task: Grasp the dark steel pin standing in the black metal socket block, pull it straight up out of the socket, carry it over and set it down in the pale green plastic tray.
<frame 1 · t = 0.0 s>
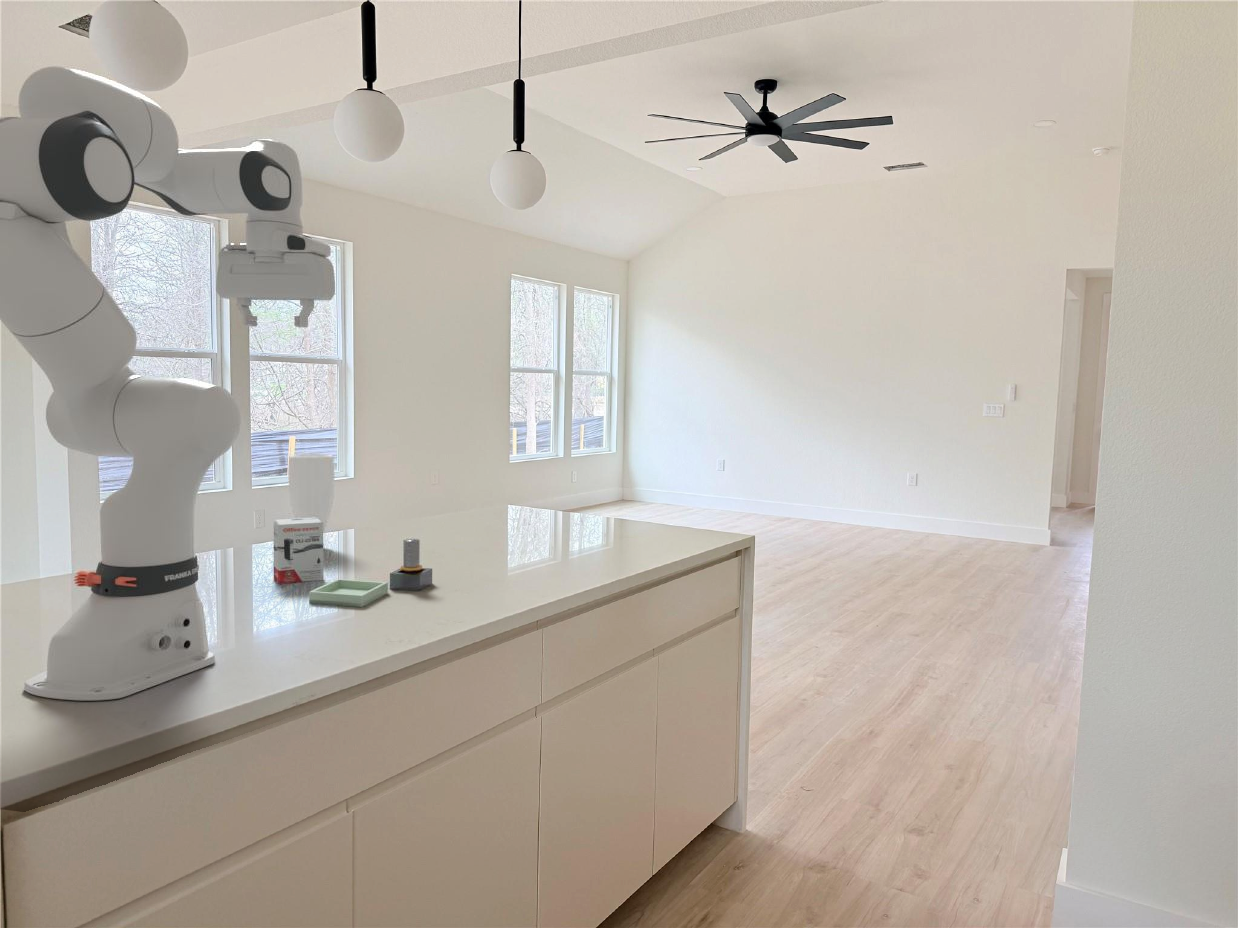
hand: (275, 326, 139), 48 cm above the counter, fingers open, 8 cm apart
tray: (349, 597, 149), on the counter
ink box: (298, 580, 161), on the counter
pin: (411, 563, 158), in the socket block
socket block: (411, 586, 158), on the counter
cup: (312, 548, 192), on the counter
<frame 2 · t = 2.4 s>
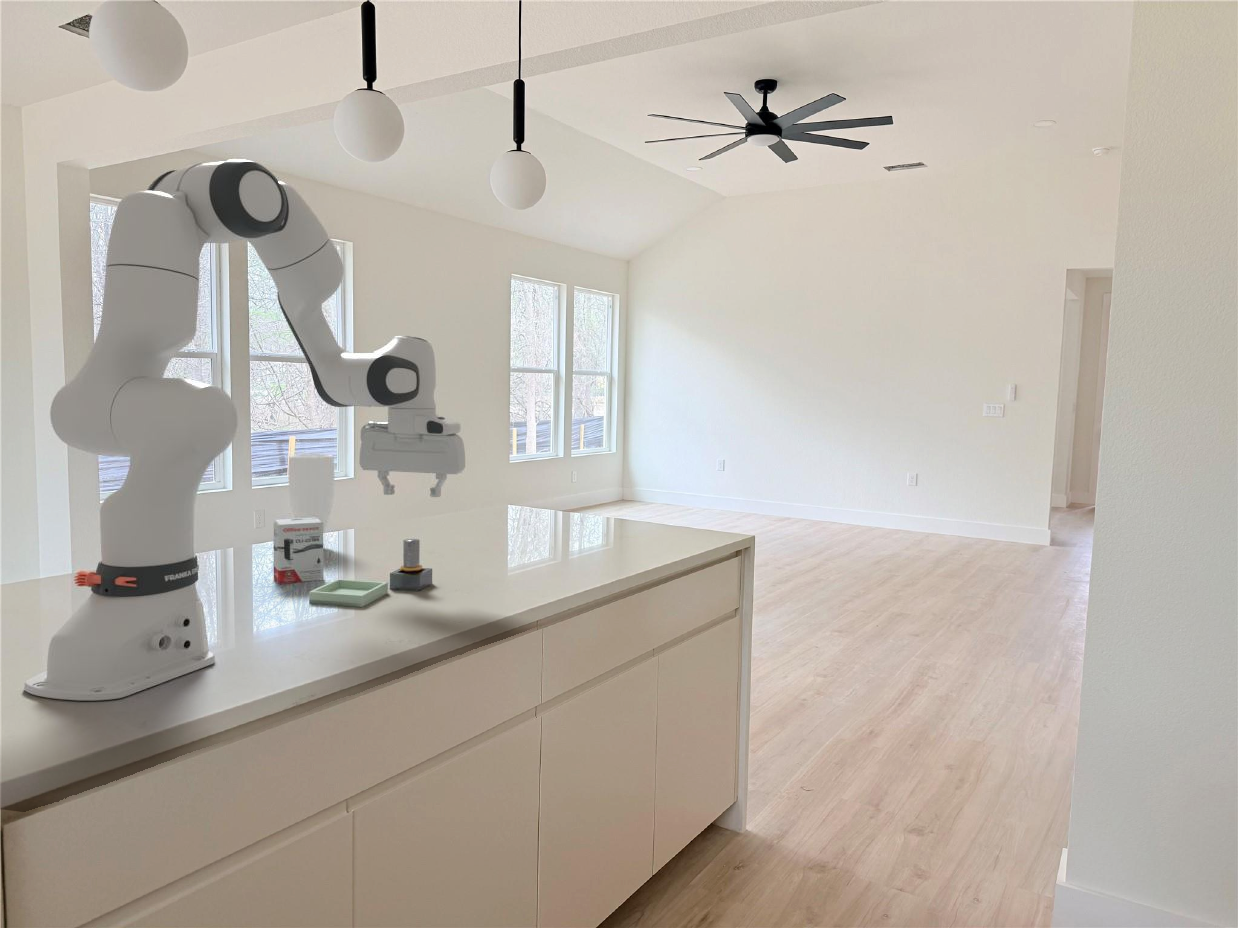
hand: (412, 495, 157), 18 cm above the counter, fingers open, 8 cm apart
nothing on the counter moved.
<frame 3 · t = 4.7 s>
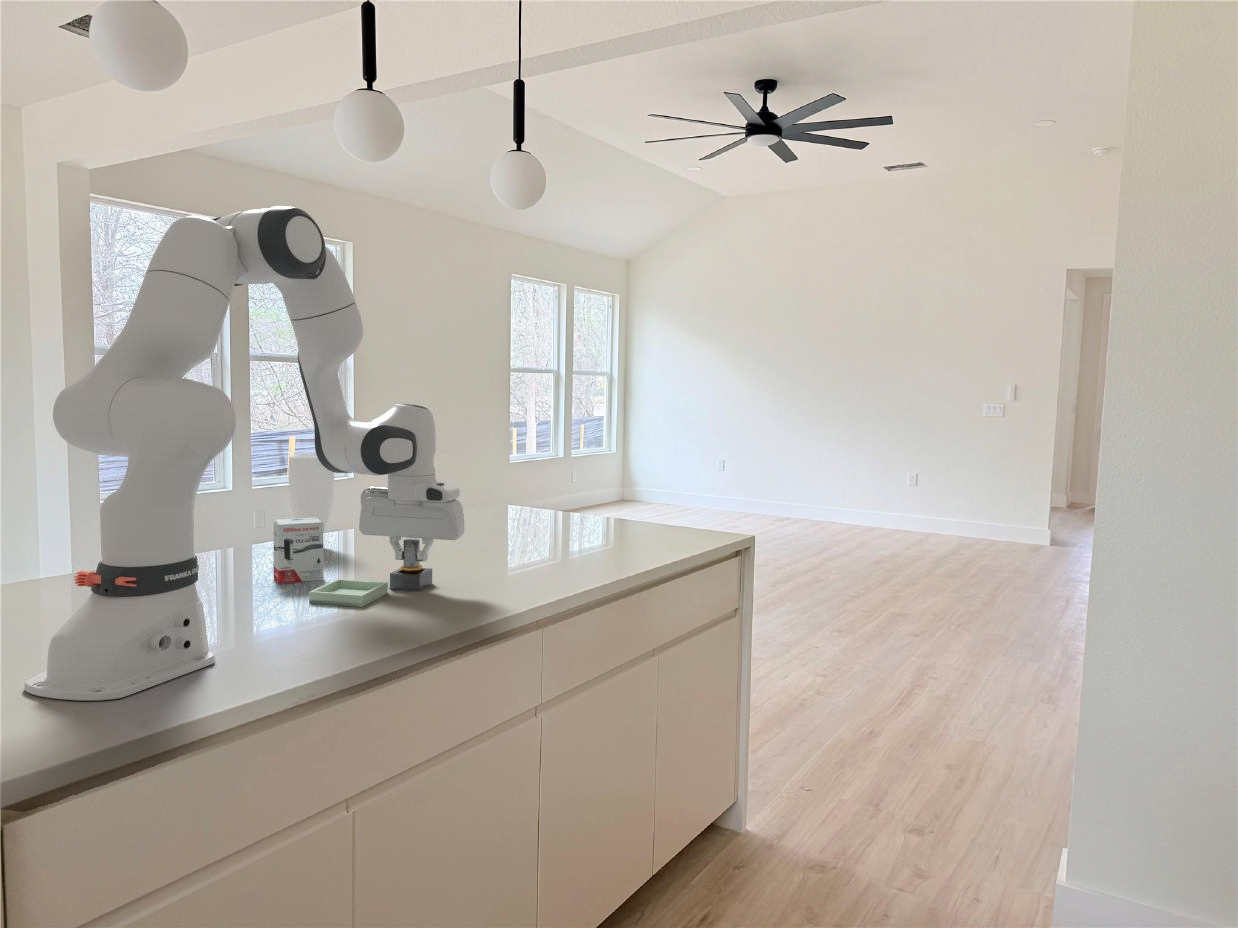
hand: (411, 560, 158), 5 cm above the counter, fingers closed on pin, 3 cm apart
pin: (411, 563, 158), in the socket block, touching gripper
everything else where it was.
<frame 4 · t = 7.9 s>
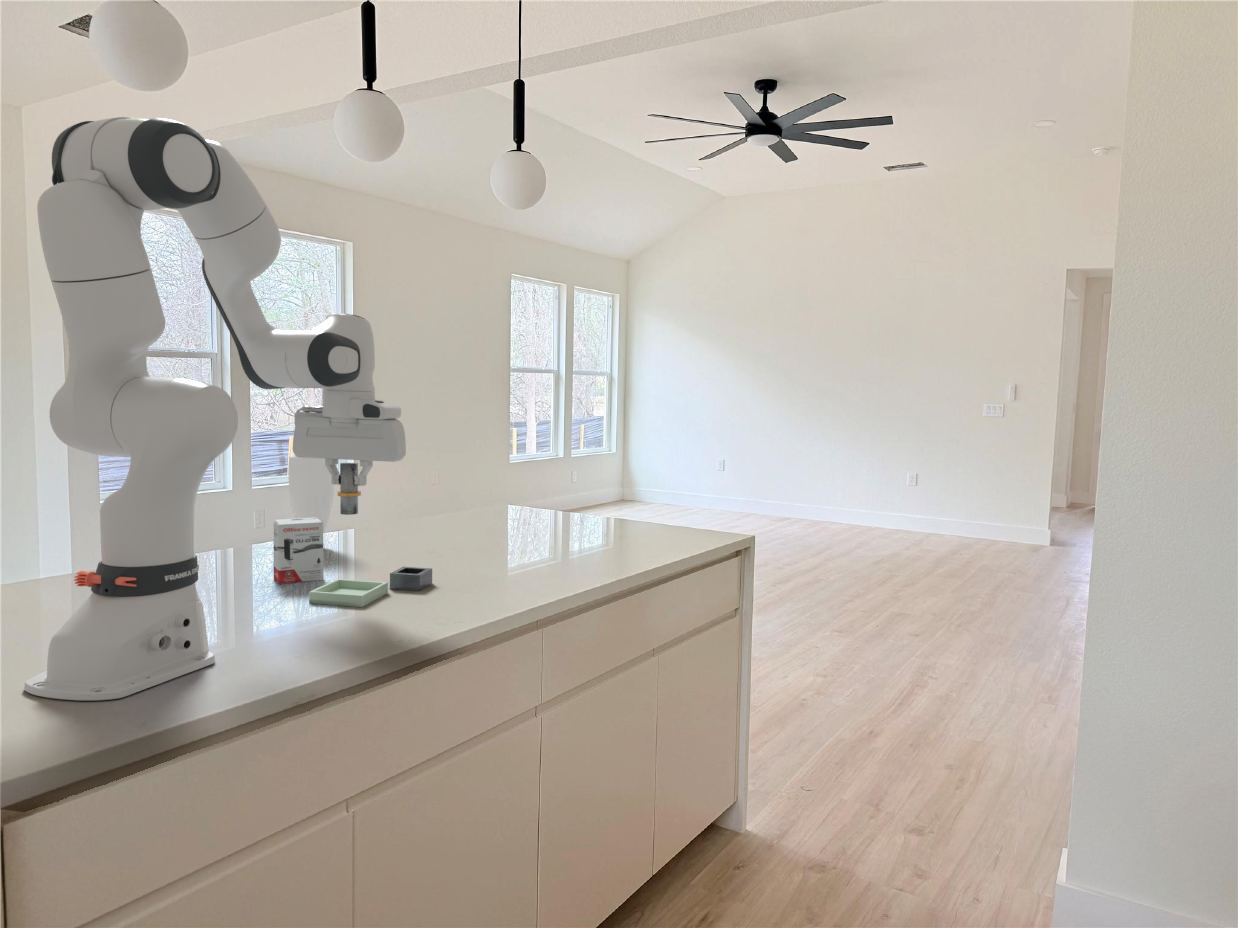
hand: (349, 484, 147), 21 cm above the counter, fingers closed on pin, 3 cm apart
pin: (349, 488, 147), point 20 cm above the counter, touching gripper
everything else where it was.
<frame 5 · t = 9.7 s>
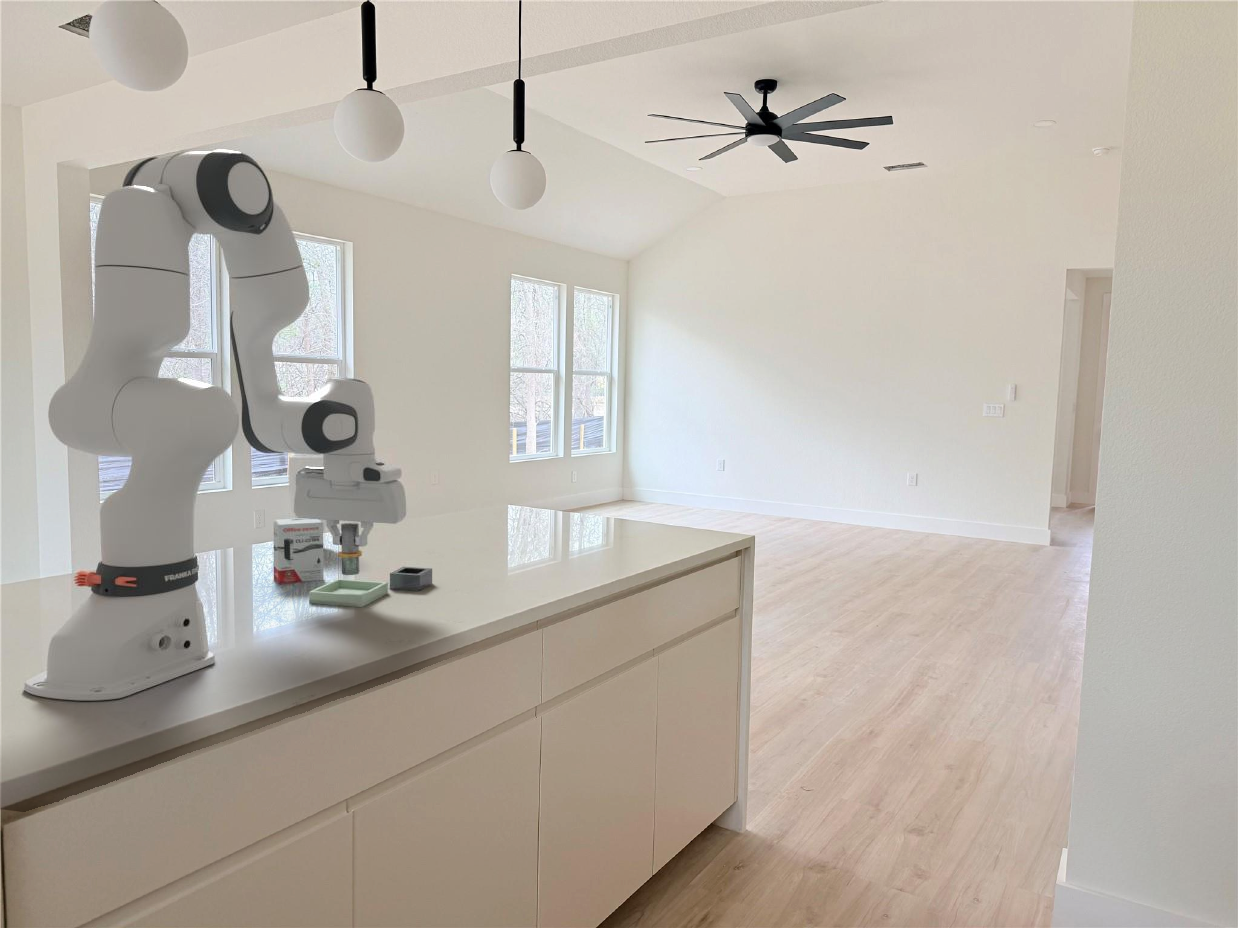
hand: (350, 545, 148), 10 cm above the counter, fingers closed on pin, 3 cm apart
pin: (350, 548, 148), point 9 cm above the counter, touching gripper
everything else where it was.
when the fingers open (6 cm above the counter, at t = 11.1 s): pin stays where it is, resting on tray.
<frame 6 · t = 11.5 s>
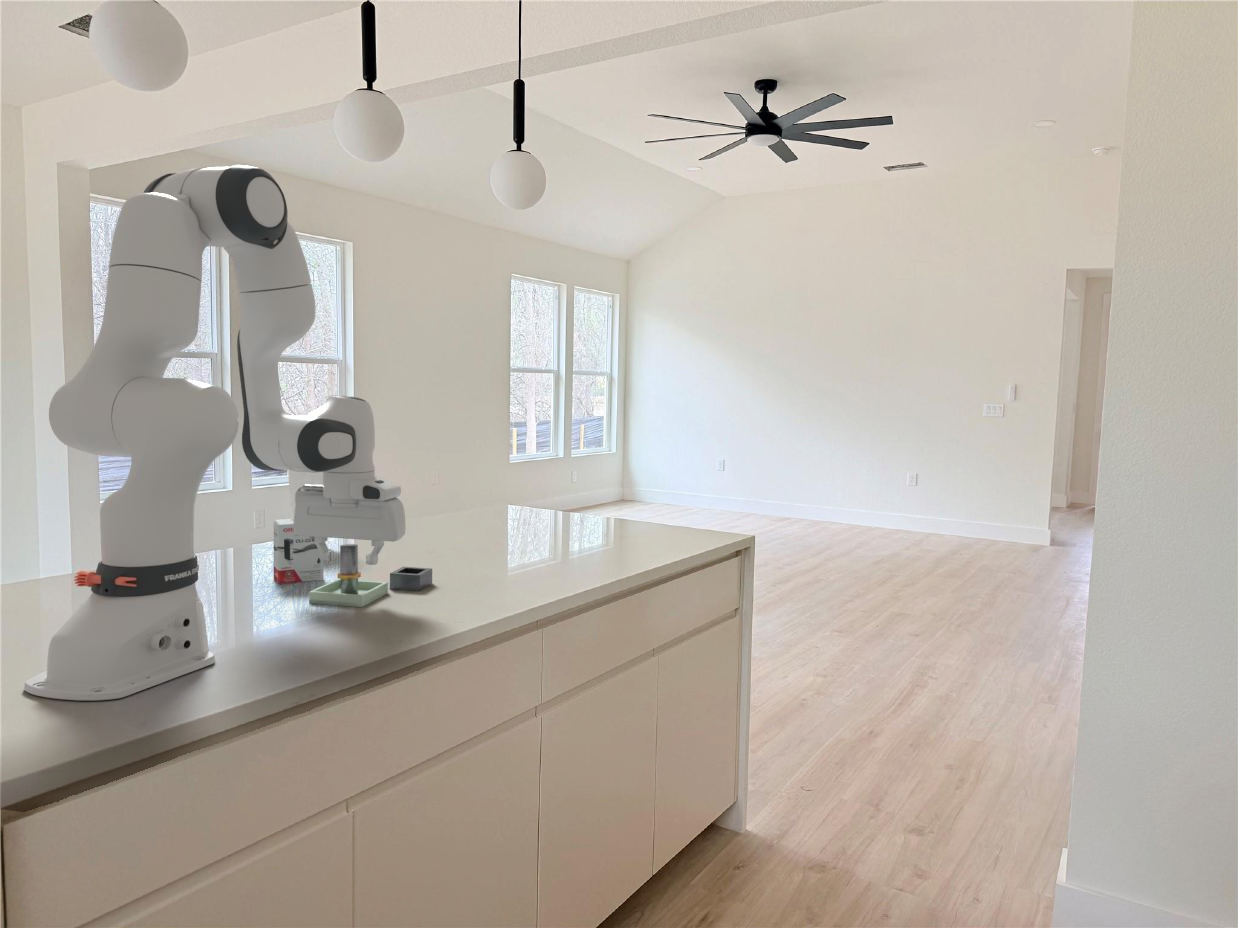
hand: (349, 562, 148), 6 cm above the counter, fingers open, 7 cm apart
pin: (349, 570, 148), in the tray, point 5 cm above the counter
everything else where it was.
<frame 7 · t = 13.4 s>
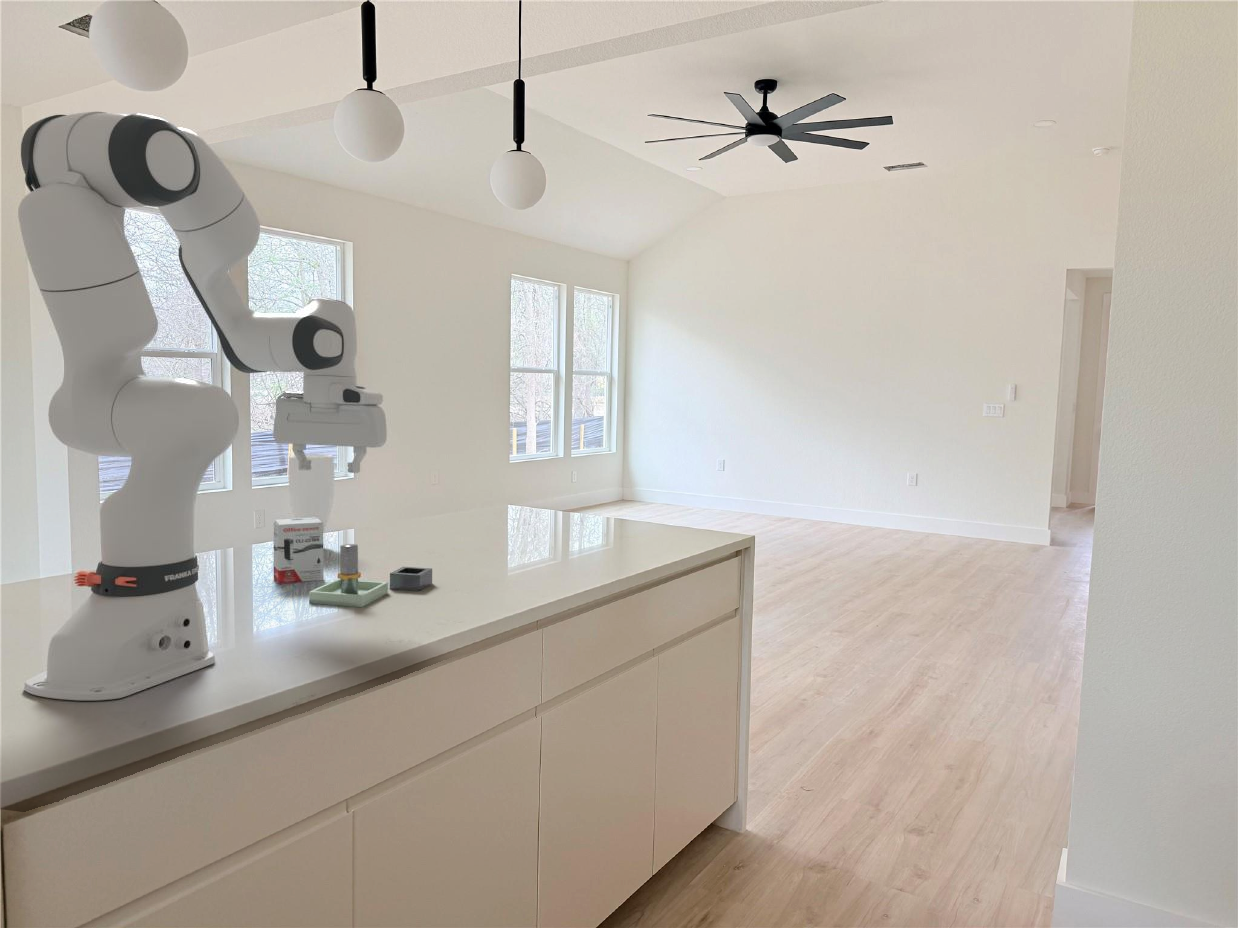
hand: (329, 471, 146), 23 cm above the counter, fingers open, 8 cm apart
nothing on the counter moved.
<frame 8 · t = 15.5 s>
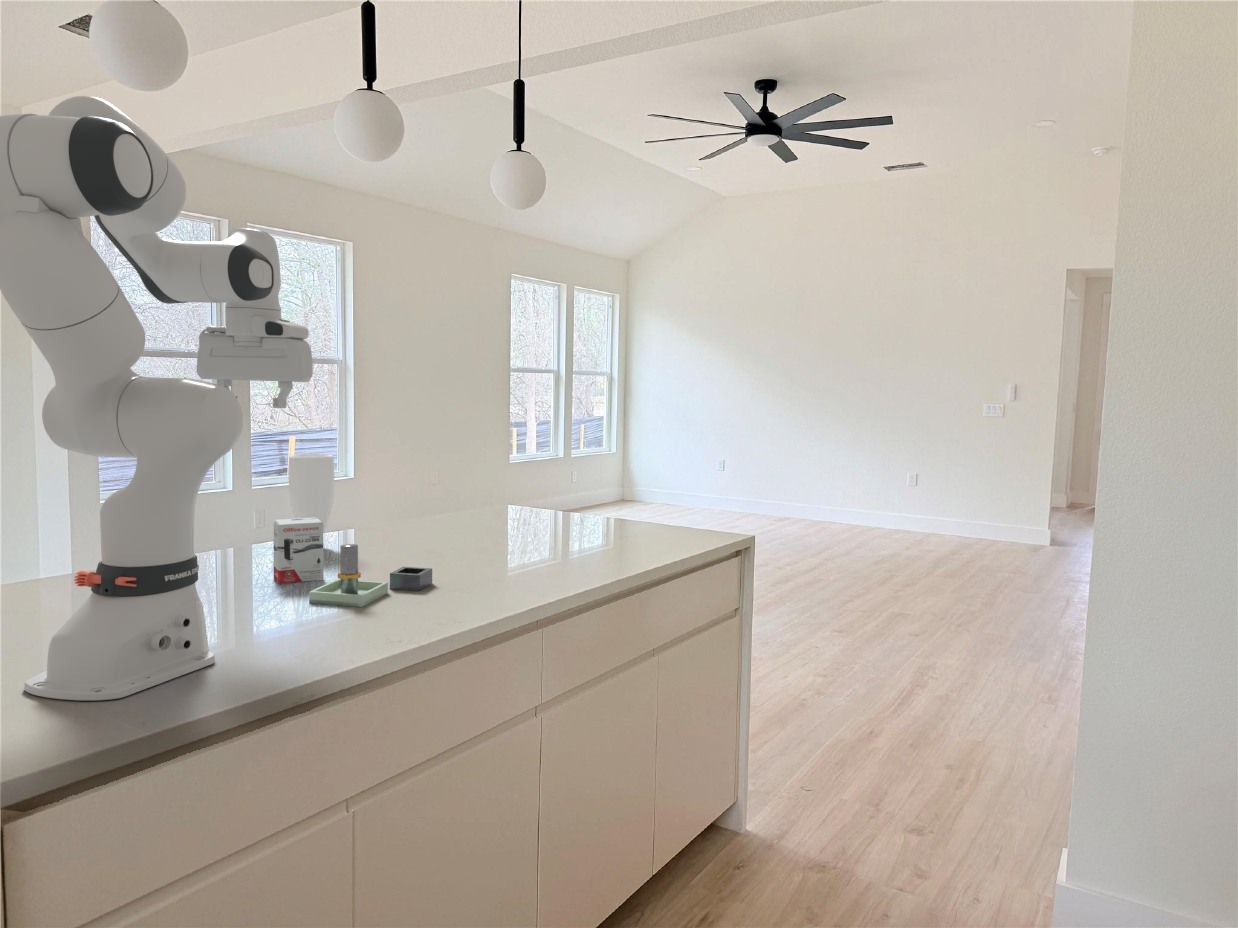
hand: (255, 407, 143), 34 cm above the counter, fingers open, 8 cm apart
nothing on the counter moved.
at the end: pin inside the target area on the tray (0.0 cm from its centre), point 5.1 cm above the tray's base; the gripper is holding nothing; pin inside the target area (11.2 cm from its centre), point 5.1 cm above the counter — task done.
